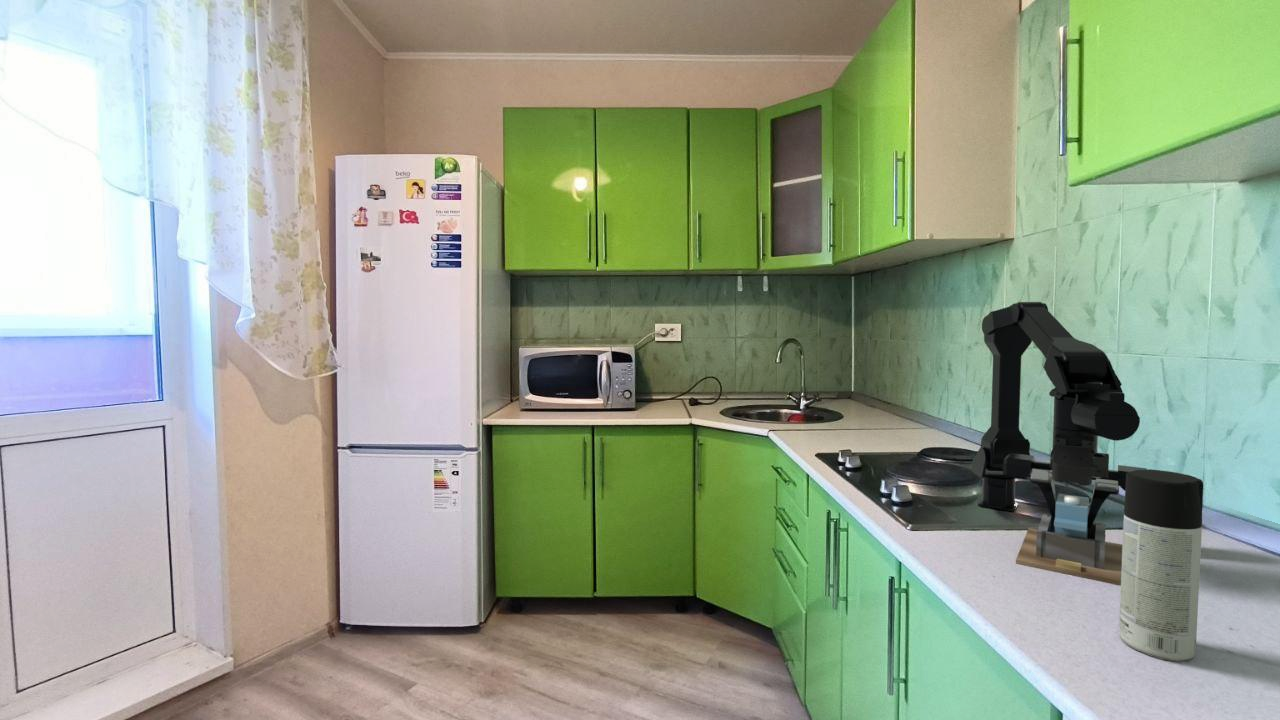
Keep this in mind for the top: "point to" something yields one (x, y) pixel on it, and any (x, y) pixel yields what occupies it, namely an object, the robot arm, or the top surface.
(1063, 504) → the servo block
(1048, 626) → the top surface
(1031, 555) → the pocket board
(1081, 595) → the top surface
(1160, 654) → the spray can
